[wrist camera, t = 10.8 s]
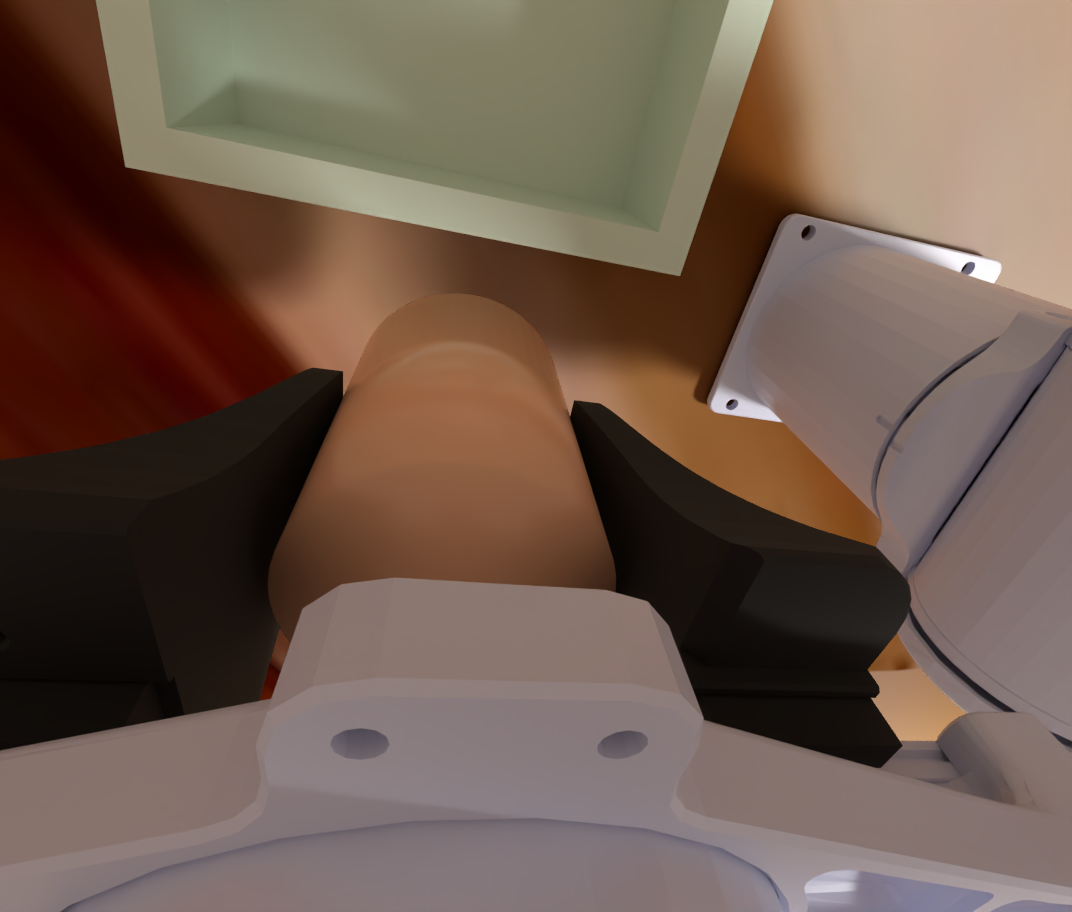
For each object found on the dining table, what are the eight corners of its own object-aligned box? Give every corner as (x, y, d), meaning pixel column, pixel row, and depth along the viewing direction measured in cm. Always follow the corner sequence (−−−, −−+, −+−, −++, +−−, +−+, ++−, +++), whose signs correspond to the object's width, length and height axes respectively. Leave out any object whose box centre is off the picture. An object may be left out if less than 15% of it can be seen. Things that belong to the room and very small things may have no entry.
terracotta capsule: (571, 304, 13) (653, 474, 7) (541, 475, 15) (582, 700, 10) (354, 281, 12) (239, 449, 6) (362, 465, 15) (289, 703, 9)
